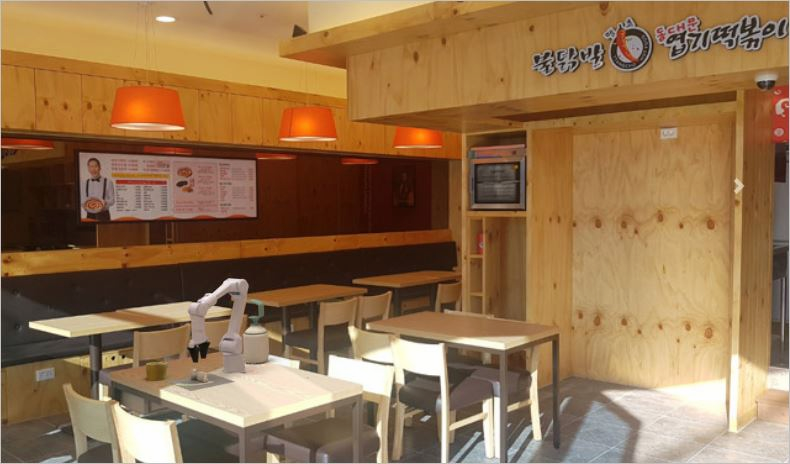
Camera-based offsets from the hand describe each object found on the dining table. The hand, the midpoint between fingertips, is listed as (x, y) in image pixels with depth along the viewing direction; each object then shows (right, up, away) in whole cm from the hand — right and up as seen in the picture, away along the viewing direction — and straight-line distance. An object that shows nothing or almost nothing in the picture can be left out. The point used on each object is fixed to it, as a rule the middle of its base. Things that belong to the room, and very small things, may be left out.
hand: (199, 360), depth 311 cm
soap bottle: (+17, -8, +40) cm, 44 cm away
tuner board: (+1, -10, -3) cm, 10 cm away
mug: (-20, -10, +7) cm, 24 cm away
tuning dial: (+1, -9, -1) cm, 9 cm away
